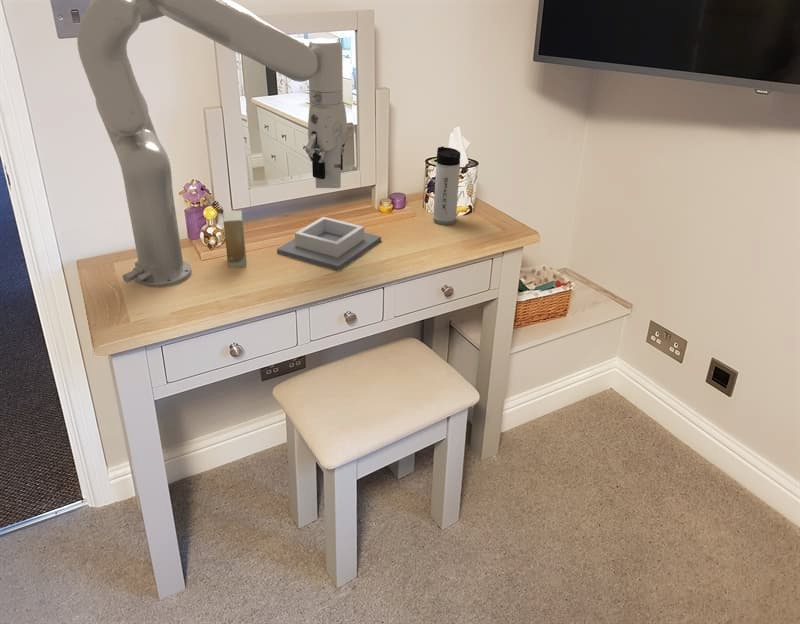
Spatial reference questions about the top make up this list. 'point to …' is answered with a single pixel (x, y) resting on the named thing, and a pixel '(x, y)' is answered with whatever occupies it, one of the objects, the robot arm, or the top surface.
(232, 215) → the skincare box
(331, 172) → the skincare box
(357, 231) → the duct collar
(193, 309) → the top surface
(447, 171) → the travel mug
